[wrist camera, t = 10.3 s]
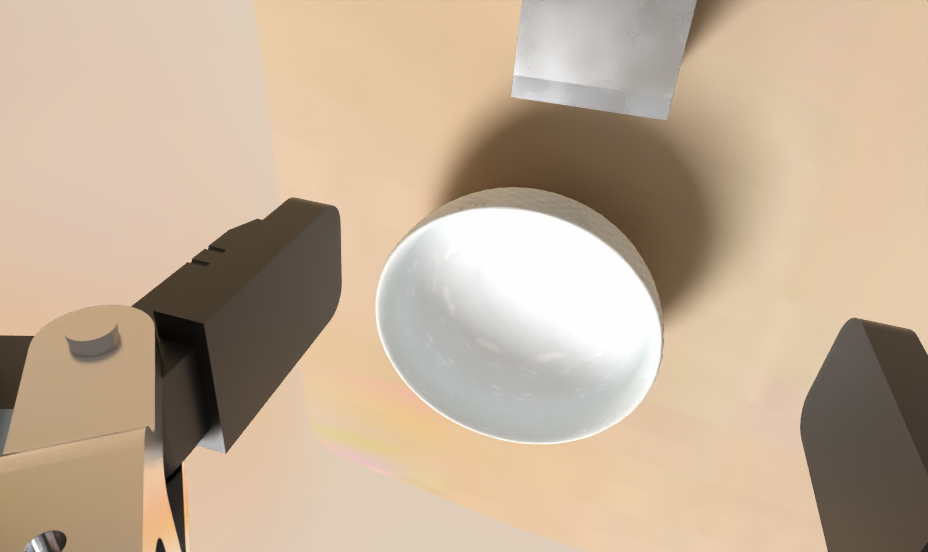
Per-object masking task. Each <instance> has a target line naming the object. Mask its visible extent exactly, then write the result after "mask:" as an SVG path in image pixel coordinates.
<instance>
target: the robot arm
mask: <svg viewBox="0 0 928 552" xmlns="http://www.w3.org/2000/svg"><path fill="white" fill-rule="evenodd" d="M341 286H342V278H341V228H340V215H339V211H338V209H337V208H336V207H335V206H332V205H327V204H322V203H318V202H313V201H308V200H304V199H299V198H289V199H288V200H286V201H285V202H284V203H283V204H282V205H280V206H279V207H278V208H277V209H276V210H274V211H273V212H272V213H271V214H269V215H268V216H267V217H266V218H265V219H263V220H260V219H256V220H253V221H251V222H248V223H246V224H243V225H241V226H238V227H235V228H233V229H230V230H228V231H227V232H226V233H224V234H223V235H222V236H221V237H220V238H218V239H217V240H216V241H214V242H213V243H212V244H211V245H209V248H208V250H207V249H204V250H203V251H201V252H200V253H199V254H198V255H196V256H195V257H194V258H193V259H192V262H191V263H188V262H187V263H186V264H185V265H184V266H182V267H181V268H180V269H179V270H177V271H176V272H175V273H173V274H172V275H171V276H170V277H168V278H167V279H166V280H164V281H163V282H162V283H161V284H159V285H158V286H157V287H155V288H154V289H153V290H152V291H150V292H149V293H148V294H147V295H145V296H144V297H143V298H142V299H140V300H139V301H138V302H136V303H135V304H134V305H133V306H131V307H129V306H123V305H102V306H94V307H88V308H84V309H80V310H77V311H74V312H71V313H68V314H66V315H63V316H61V317H59V318H57V319H55V320H54V321H52V322H50V323H49V324H47V325H46V326H45V327H43V328H42V329H41V330H40V331H39V332H38V333H37V334H36V335H35V336H0V552H191V550H190V530H189V512H188V491H187V472H186V467H185V462H184V460H185V459H186V457H187V456H188V455H189V454H190V453H191V451H192V450H193V449H194V448H195V447H196V446H201V447H204V448H207V449H211V450H214V451H218V452H221V453H224V454H226V453H227V452H228V450H229V449H230V448H231V446H232V445H233V444H234V443H235V441H236V440H237V439H238V438H239V436H240V435H241V434H242V432H243V431H244V430H245V429H246V427H247V426H248V425H249V423H250V422H251V421H252V420H253V418H254V417H255V416H256V415H257V413H258V412H259V411H260V409H261V408H262V407H263V406H264V404H265V403H266V402H267V400H268V399H269V398H270V396H271V395H272V394H273V393H274V392H275V390H276V389H277V388H278V386H279V385H280V384H281V383H282V381H283V380H284V378H285V377H286V376H287V375H288V374H289V372H290V371H291V370H292V368H293V367H294V366H295V365H296V363H297V362H298V361H299V360H300V358H301V357H302V356H303V354H304V353H305V352H306V351H307V349H308V348H309V347H310V345H311V344H312V343H313V342H314V340H315V339H316V338H317V336H318V335H319V334H320V333H321V331H322V330H323V329H324V328H325V326H326V325H327V324H328V322H329V321H330V320H331V318H332V317H333V315H334V313H335V311H336V308H337V306H338V303H339V299H340V294H341ZM800 430H801V438H802V443H803V447H804V451H805V455H806V460H807V464H808V468H809V473H810V477H811V481H812V485H813V490H814V494H815V498H816V502H817V507H818V511H819V515H820V519H821V524H822V528H823V532H824V536H825V541H826V545H827V549H828V552H928V355H927V353H926V351H925V349H924V348H923V346H922V344H921V342H920V340H919V338H918V337H917V335H916V334H915V332H913V331H912V330H910V329H905V328H901V327H896V326H891V325H886V324H882V323H877V322H872V321H868V320H863V319H858V318H852V319H850V320H848V321H847V322H846V323H845V324H844V326H843V327H842V329H841V330H840V332H839V334H838V336H837V338H836V340H835V342H834V344H833V346H832V348H831V350H830V352H829V353H828V355H827V357H826V359H825V361H824V363H823V365H822V367H821V369H820V371H819V373H818V375H817V377H816V379H815V381H814V383H813V385H812V387H811V389H810V391H809V392H808V395H807V397H806V399H805V402H804V405H803V409H802V415H801V424H800Z"/></svg>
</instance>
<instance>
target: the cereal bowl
mask: <svg viewBox="0 0 928 552" xmlns="http://www.w3.org/2000/svg"><path fill="white" fill-rule="evenodd" d="M376 321H377V327H378V332H379V336H380V339H381V342H382V344H383V347H384V349H385V351H386V354H387V356H388V358H389V359H390V361H391V363H392V365H393V366H394V368H395V369H396V371H397V373H398V374H399V375H400V377H401V378H402V379H403V380H404V382H405V383H406V384H407V385H408V386H409V388H410V389H411V390H412V391H413V392H414V393H415V394H416V395H417V396H418V397H419V398H421V399H422V400H423V401H424V402H425V403H426V404H428V405H429V406H430V407H431V408H433V409H434V410H435V411H437V412H438V413H440V414H441V415H443V416H444V417H446V418H448V419H449V420H451V421H453V422H455V423H457V424H459V425H461V426H463V427H465V428H467V429H470V430H472V431H475V432H477V433H480V434H483V435H486V436H489V437H493V438H496V439H500V440H505V441H510V442H516V443H525V444H557V443H564V442H570V441H575V440H579V439H582V438H586V437H589V436H592V435H595V434H597V433H600V432H602V431H604V430H606V429H608V428H610V427H612V426H613V425H615V424H617V423H618V422H620V421H621V420H622V419H624V418H625V417H627V416H628V415H629V414H630V413H631V412H632V411H633V410H634V409H635V408H636V407H637V406H638V405H639V404H640V403H641V402H642V400H643V399H644V398H645V397H646V395H647V394H648V392H649V390H650V389H651V387H652V385H653V383H654V381H655V379H656V376H657V374H658V371H659V367H660V364H661V360H662V357H663V355H662V351H663V344H664V337H663V332H664V327H663V326H664V324H663V316H662V307H661V303H660V299H659V294H658V292H657V289H656V286H655V282H654V279H653V278H652V276H651V272H650V271H649V269H648V267H647V266H646V264H645V262H644V260H643V258H642V257H641V256H640V254H639V253H638V252H637V250H636V248H635V247H634V245H633V244H632V243H631V242H630V241H629V240H628V238H627V237H626V235H624V234H623V233H622V232H621V231H620V230H619V229H618V228H617V226H615V225H613V224H612V223H611V222H610V221H609V220H608V219H606V218H604V217H603V215H602V214H599V213H597V212H596V211H595V210H593V209H591V208H589V207H588V206H586V205H584V204H581V203H580V202H578V201H575V200H573V199H571V198H568V197H565V196H563V195H561V194H556V193H554V192H548V191H545V190H538V189H535V188H526V187H525V188H519V187H506V188H495V189H489V190H483V191H480V192H474V193H471V194H468V195H466V196H461V197H460V198H458V199H455V200H453V201H450V202H448V203H446V204H445V205H443V206H441V207H439V208H437V209H436V210H435V211H433V212H431V213H430V214H429V215H427V216H426V217H425V218H424V219H422V220H421V221H420V222H419V223H418V224H417V225H416V226H414V227H413V228H412V229H411V230H410V231H409V232H408V234H406V235H405V236H404V238H403V239H402V240H401V241H400V242H399V243H398V244H397V246H396V247H395V249H394V250H393V251H392V253H391V254H390V255H389V257H388V259H387V261H386V263H385V265H384V267H383V270H382V272H381V275H380V278H379V282H378V287H377V294H376Z"/></svg>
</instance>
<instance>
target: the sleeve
mask: <svg viewBox="0 0 928 552" xmlns="http://www.w3.org/2000/svg"><path fill="white" fill-rule="evenodd" d="M696 2H697V0H522V7H521V15H520V24H519V33H518V41H517V50H516V59H515V68H514V76H513V85H512V94H511V97H515V98H522V99H528V100H535V101H541V102H548V103H555V104H561V105H568V106H574V107H581V108H587V109H594V110H601V111H607V112H614V113H620V114H627V115H633V116H640V117H647V118H653V119H660V120H666V121H667V117H668V114H669V110H670V106H671V102H672V98H673V94H674V90H675V86H676V82H677V78H678V74H679V70H680V66H681V62H682V58H683V54H684V50H685V46H686V42H687V38H688V34H689V30H690V26H691V22H692V18H693V14H694V10H695V6H696Z"/></svg>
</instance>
